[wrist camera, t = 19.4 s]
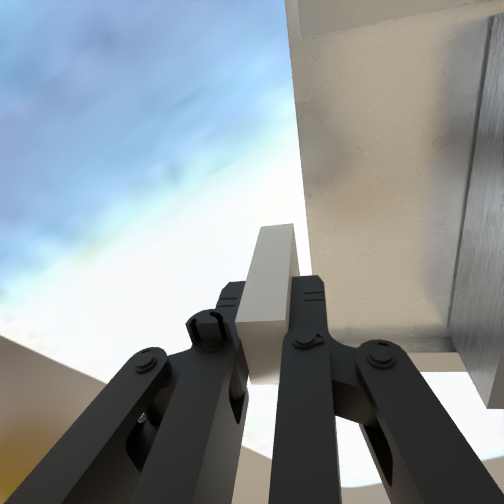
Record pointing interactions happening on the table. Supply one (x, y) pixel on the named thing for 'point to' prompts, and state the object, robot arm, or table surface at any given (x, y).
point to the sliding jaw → (484, 243)
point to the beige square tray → (389, 160)
